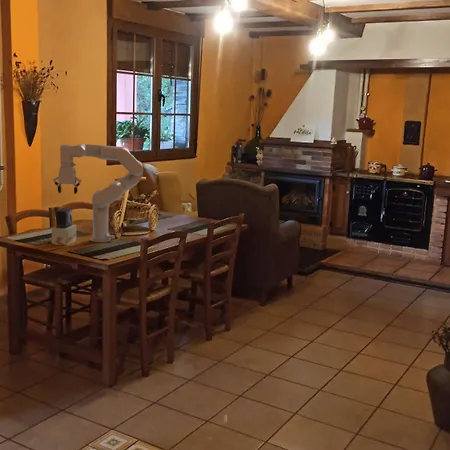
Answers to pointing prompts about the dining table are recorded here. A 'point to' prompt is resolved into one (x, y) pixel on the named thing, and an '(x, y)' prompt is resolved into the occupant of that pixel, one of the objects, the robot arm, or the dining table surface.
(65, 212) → the small box
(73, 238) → the tower base
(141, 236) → the dining table surface
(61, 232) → the tower top
